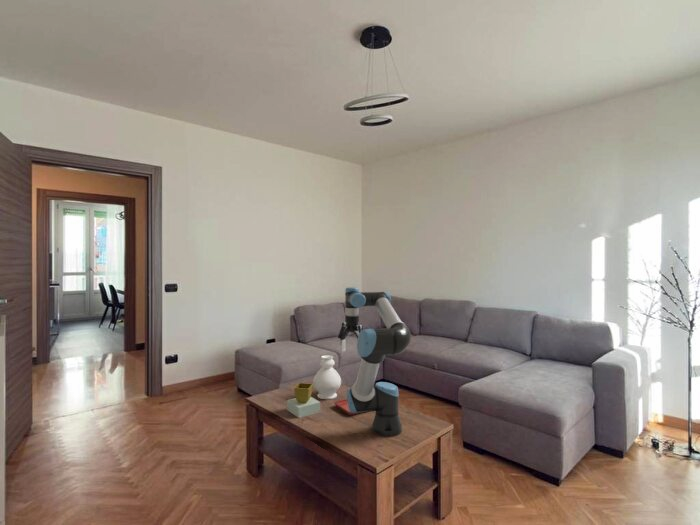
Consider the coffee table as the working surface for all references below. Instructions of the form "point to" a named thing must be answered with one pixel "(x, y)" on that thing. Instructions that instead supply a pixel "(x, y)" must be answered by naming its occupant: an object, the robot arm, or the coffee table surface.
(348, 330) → the robot arm
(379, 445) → the coffee table surface
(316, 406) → the sage block
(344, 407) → the plant saucer
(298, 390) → the flower pot
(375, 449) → the coffee table surface
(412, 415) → the coffee table surface
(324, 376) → the decorative vase
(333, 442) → the coffee table surface
